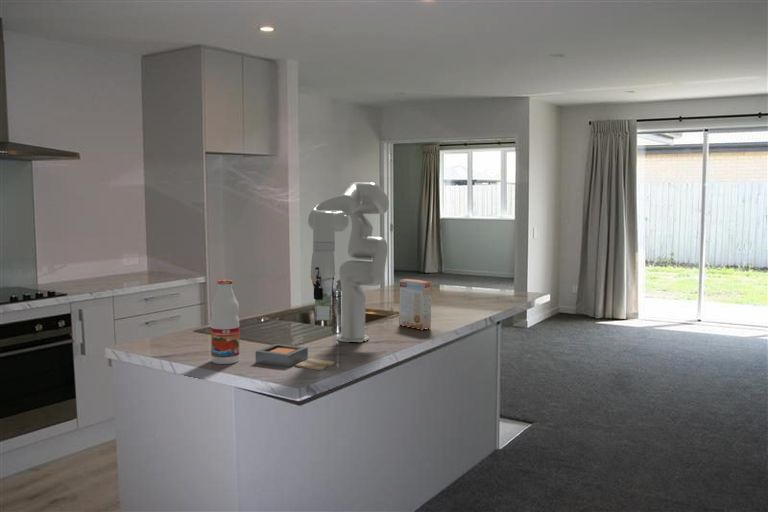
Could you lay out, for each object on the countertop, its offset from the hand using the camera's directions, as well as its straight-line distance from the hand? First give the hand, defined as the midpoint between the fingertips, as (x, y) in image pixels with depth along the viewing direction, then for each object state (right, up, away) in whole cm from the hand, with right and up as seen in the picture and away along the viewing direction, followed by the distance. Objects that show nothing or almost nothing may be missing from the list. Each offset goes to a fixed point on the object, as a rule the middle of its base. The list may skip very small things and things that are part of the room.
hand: (323, 297), depth 229 cm
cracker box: (+35, -17, +59) cm, 71 cm away
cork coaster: (-2, -23, -7) cm, 24 cm away
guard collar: (-14, -22, -2) cm, 26 cm away
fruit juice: (-33, -22, -4) cm, 40 cm away
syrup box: (0, -8, +1) cm, 8 cm away
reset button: (-14, -19, -2) cm, 24 cm away
